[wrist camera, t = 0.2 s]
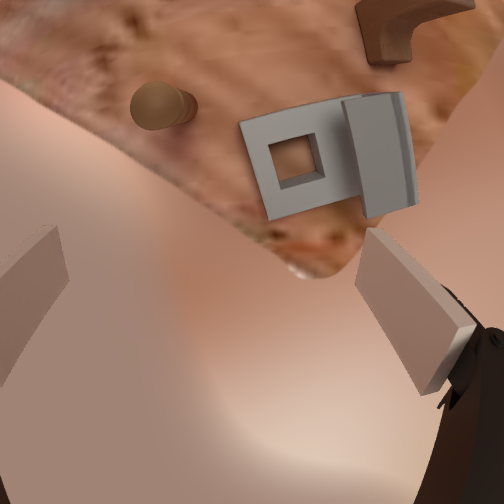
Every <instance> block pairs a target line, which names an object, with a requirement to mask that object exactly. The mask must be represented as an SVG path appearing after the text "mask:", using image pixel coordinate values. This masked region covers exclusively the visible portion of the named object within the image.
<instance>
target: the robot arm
mask: <svg viewBox="0 0 504 504" xmlns="http://www.w3.org/2000/svg"><path fill="white" fill-rule="evenodd" d="M68 282H69V277H68V273H67V269H66V265H65V261H64V256H63V252H62V247H61V242H60V238H59V232H58V227H57V225H48V226H47V225H46V226H42V227H41V228H40V229H39V230H38V231H37V232H35V233H34V234H33V235H32V236H31V237H29V238H28V239H27V240H26V241H25V242H23V244H21V245H20V246H19V247H18V248H17V249H16V250H14V251H13V252H12V253H11V254H10V255H9V256H8V257H7V258H6V259H4V260H3V261H2V262H1V263H0V387H2V386H3V384H4V382H5V381H6V379H7V377H8V375H9V373H10V372H11V370H12V368H13V366H14V365H15V363H16V361H17V359H18V357H19V356H20V354H21V353H22V351H23V349H24V348H25V346H26V344H27V343H28V341H29V340H30V338H31V336H32V335H33V333H34V331H35V330H36V329H37V327H38V325H39V324H40V322H41V321H42V319H43V318H44V316H45V315H46V313H47V312H48V310H49V309H50V307H51V306H52V305H53V303H54V302H55V300H56V299H57V297H58V296H59V294H60V293H61V292H62V290H63V289H64V288H65V286H66V285H67V284H68ZM355 285H356V287H357V288H358V290H359V292H360V293H361V295H362V296H363V298H364V300H365V301H366V303H367V304H368V306H369V307H370V309H371V311H372V312H373V314H374V316H375V317H376V319H377V320H378V322H379V324H380V325H381V327H382V329H383V330H384V332H385V334H386V335H387V337H388V339H389V340H390V342H391V344H392V345H393V347H394V349H395V351H396V352H397V354H398V356H399V358H400V359H401V361H402V363H403V365H404V366H405V368H406V370H407V372H408V374H409V375H410V377H411V379H412V381H413V383H414V384H415V386H416V388H417V390H418V392H419V394H420V395H421V396H423V395H427V394H430V393H434V392H438V391H439V390H440V389H441V387H442V385H443V384H444V382H445V381H446V379H447V378H448V380H449V381H450V383H451V385H452V386H451V387H450V389H449V390H448V392H447V393H446V394H445V396H444V397H443V399H442V400H441V402H440V403H439V405H438V407H437V408H438V409H440V407H441V406H442V405H443V404H445V405H444V410H443V414H442V418H441V422H440V426H439V430H438V434H437V438H436V441H435V444H434V448H433V451H432V455H431V457H430V461H429V464H428V466H427V469H426V472H425V475H424V478H423V481H422V484H421V486H420V489H419V491H418V494H417V496H416V499H415V501H414V503H413V504H504V331H502V330H500V329H498V328H493V327H490V328H486V329H485V328H484V327H483V326H482V325H481V323H480V322H479V321H478V320H477V319H476V318H475V317H474V316H473V315H472V313H471V312H470V311H469V310H468V309H467V308H466V307H464V305H463V304H462V303H461V301H460V300H457V297H456V296H455V295H454V294H453V293H452V292H451V291H450V290H449V289H447V288H446V287H444V286H443V285H441V284H440V283H439V282H438V281H437V280H435V278H434V277H433V276H432V275H431V274H430V273H429V272H428V271H427V270H426V269H425V268H424V267H423V266H422V265H421V264H420V263H419V262H417V260H416V259H415V258H413V257H412V256H411V255H410V254H409V253H408V252H407V251H406V250H405V249H404V248H403V247H402V246H401V245H400V244H399V243H398V242H396V240H394V239H393V238H392V237H391V236H390V235H389V234H388V233H387V232H386V231H385V230H384V229H382V228H367V230H366V235H365V240H364V245H363V249H362V254H361V259H360V263H359V267H358V272H357V276H356V281H355ZM0 504H10V501H9V499H8V496H7V494H6V491H5V488H4V485H3V482H2V479H1V477H0Z"/></svg>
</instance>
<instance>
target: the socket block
mask: <svg viewBox="0 0 504 504" xmlns="http://www.w3.org/2000/svg"><path fill="white" fill-rule="evenodd" d="M239 125H240V128H241V132H242V135H243V138H244V141H245V144H246V148H247V151H248V154H249V157H250V160H251V164H252V167H253V170H254V174H255V177H256V180H257V183H258V187H259V190H260V193H261V197H262V200H263V203H264V207H265V210H266V213H267V216H268V218H269V221H271V220H275V219H278V218H281V217H285V216H288V215H292V214H295V213H298V212H302V211H305V210H309V209H312V208H316V207H319V206H322V205H326V204H329V203H333V202H336V201H340V200H344V199H347V198H351V197H354V196H358V195H360V196H361V202H362V209H363V215H364V217H365V218H367V219H370V218H373V217H377V216H380V215H383V214H387V213H390V212H393V211H396V210H400V209H403V208H406V207H410V206H413V205H416V204H419V198H418V185H417V176H416V166H415V159H414V151H413V144H412V138H411V132H410V126H409V121H408V115H407V110H406V105H405V100H404V96H403V92H377V93H360V94H354V95H348V96H342V97H337V98H332V99H327V100H322V101H317V102H313V103H308V104H304V105H299V106H295V107H291V108H287V109H283V110H279V111H275V112H271V113H268V114H264V115H260V116H257V117H253V118H250V119H246V120H243V121H239ZM306 134H307V135H308V139H309V143H310V147H311V151H312V155H313V159H314V163H315V167H316V171H314V172H311V173H307V174H303V175H300V176H296V177H293V178H289V179H286V180H282V181H279V182H278V179H277V175H276V171H275V168H274V164H273V161H272V158H271V154H270V151H269V147H268V145H269V144H272V143H276V142H279V141H283V140H287V139H291V138H294V137H298V136H302V135H306Z"/></svg>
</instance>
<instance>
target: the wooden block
mask: <svg viewBox="0 0 504 504" xmlns="http://www.w3.org/2000/svg"><path fill="white" fill-rule="evenodd" d="M475 7H476V6H475V2H474V0H361V1H360V2H359V3H357V4H356V5H355V8H356V11H357V15H358V19H359V23H360V27H361V31H362V35H363V40H364V44H365V49H366V53H367V58H368V62H369V64H401V63H407V62H411V61H412V52H411V43H410V40H411V37H412V34H413V30H414V29H415V28H416V27H417V26H418V25H419V24H421V23H423V22H427V21H430V20H433V19H437V18H440V17H444V16H448V15H451V14H455V13H459V12H463V11H468V10H472V9H475Z"/></svg>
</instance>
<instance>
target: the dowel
mask: <svg viewBox="0 0 504 504" xmlns="http://www.w3.org/2000/svg"><path fill="white" fill-rule="evenodd" d="M130 112H131V116H132V118H133V120H134V121H135V123H136V124H137V125H138V126H140V127H141V128H143V129H146V130H152V131H153V130H160V129H163V128H167V127H170V126H174V125H178V124H182V123H185V122H188V121H190V120H191V119H192V118H193V117H194V116H195V114H196V112H197V101H196V99H195V98H194V97H193V96H192V95H191V94H189V93H187V92H185V91H183V90H181V89H178V88H176V87H174V86H171V85H169V84H167V83H164V82H160V81H155V82H149V83H147V84H145V85H143V86H141V87H140V88H139V89H138V90H137V91H136V92H135V94H134V95H133V97H132V100H131V104H130Z"/></svg>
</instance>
